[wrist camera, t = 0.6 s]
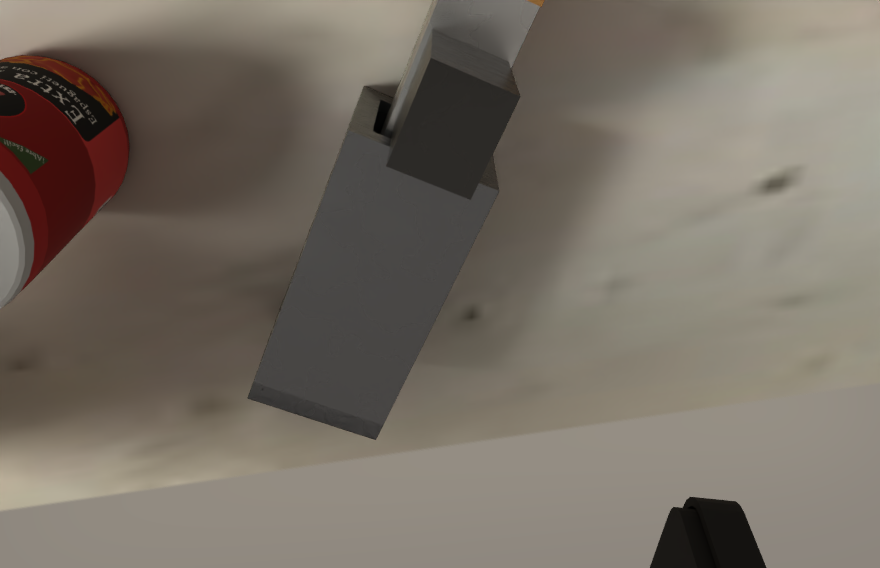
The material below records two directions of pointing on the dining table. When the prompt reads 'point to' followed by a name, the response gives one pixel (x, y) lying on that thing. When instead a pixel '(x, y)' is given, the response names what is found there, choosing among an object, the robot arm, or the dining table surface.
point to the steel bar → (457, 91)
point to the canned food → (52, 162)
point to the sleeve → (367, 282)
